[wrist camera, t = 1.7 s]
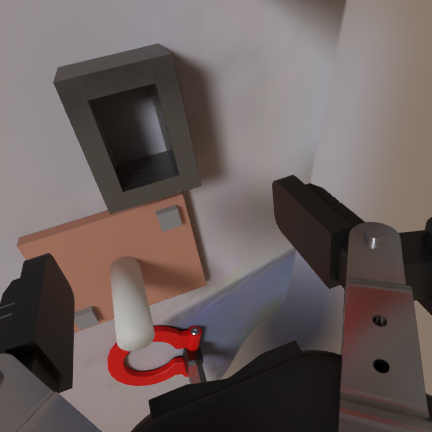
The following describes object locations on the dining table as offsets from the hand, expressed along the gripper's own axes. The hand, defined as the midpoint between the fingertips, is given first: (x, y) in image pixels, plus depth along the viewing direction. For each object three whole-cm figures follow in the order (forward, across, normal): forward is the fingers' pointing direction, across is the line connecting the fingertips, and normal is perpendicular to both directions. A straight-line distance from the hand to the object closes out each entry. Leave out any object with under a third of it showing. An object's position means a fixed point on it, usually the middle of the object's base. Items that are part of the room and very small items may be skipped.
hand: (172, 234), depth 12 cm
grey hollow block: (+13, 0, 0) cm, 13 cm away
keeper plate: (+13, +4, +11) cm, 18 cm away
